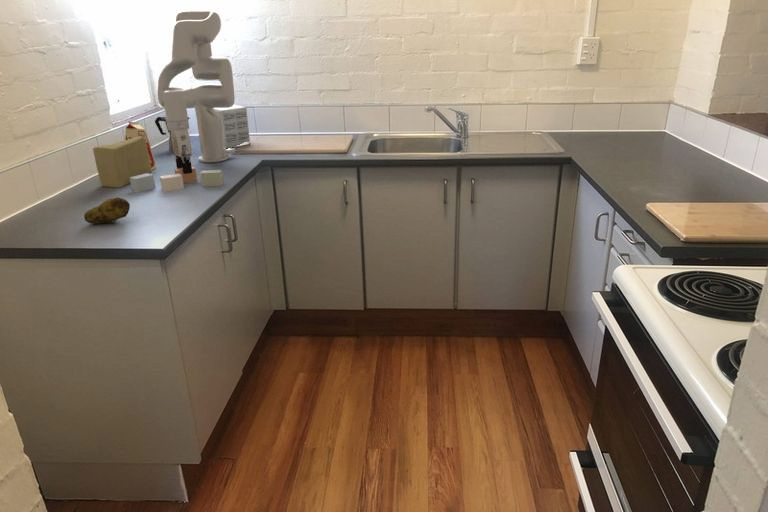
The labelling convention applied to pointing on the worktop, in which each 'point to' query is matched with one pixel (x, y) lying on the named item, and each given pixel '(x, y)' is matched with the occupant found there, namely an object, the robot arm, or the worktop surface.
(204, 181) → the sage brick
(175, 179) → the cream brick
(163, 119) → the coffeepot
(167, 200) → the worktop surface
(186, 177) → the terracotta brick
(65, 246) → the worktop surface
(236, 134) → the supplement box
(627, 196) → the worktop surface
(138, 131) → the milk carton
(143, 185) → the slate brick
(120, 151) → the cheese
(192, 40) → the robot arm
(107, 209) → the potato
